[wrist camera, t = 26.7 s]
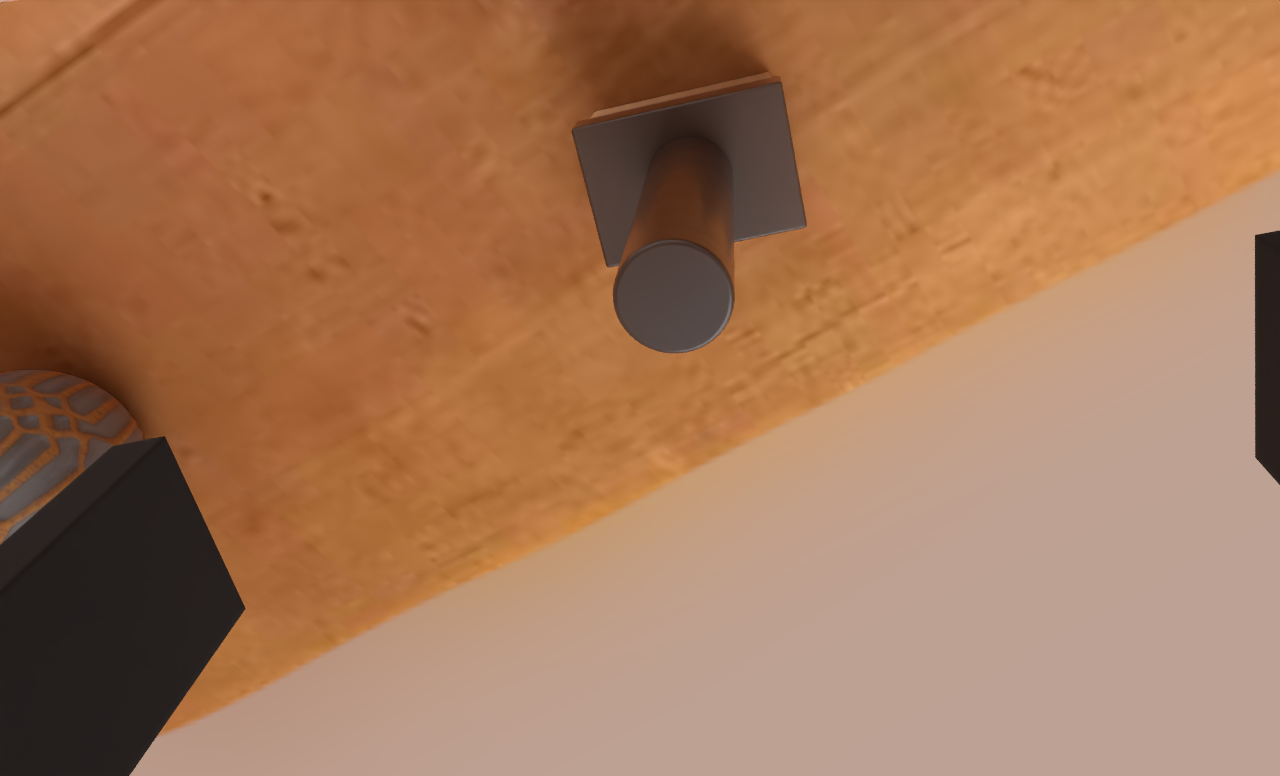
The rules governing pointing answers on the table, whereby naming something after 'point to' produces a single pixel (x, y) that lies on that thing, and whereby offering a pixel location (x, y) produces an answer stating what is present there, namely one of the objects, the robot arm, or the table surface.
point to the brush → (687, 200)
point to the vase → (51, 438)
